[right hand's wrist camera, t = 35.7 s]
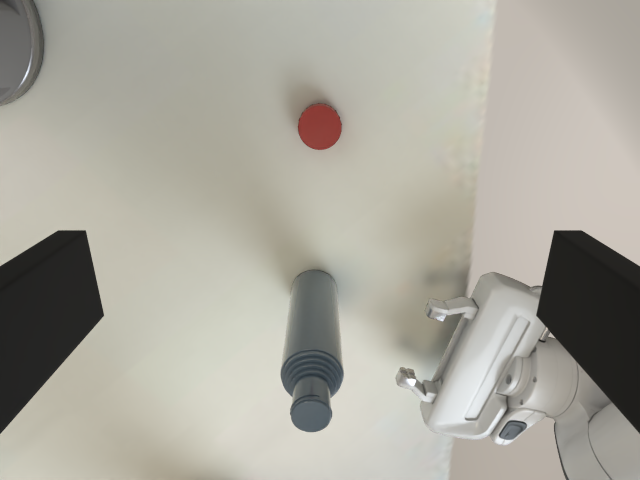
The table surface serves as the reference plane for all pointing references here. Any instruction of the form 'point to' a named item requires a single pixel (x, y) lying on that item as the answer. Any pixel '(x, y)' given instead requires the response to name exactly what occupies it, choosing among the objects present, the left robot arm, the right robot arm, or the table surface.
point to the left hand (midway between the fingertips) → (412, 343)
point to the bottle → (312, 350)
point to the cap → (319, 126)
